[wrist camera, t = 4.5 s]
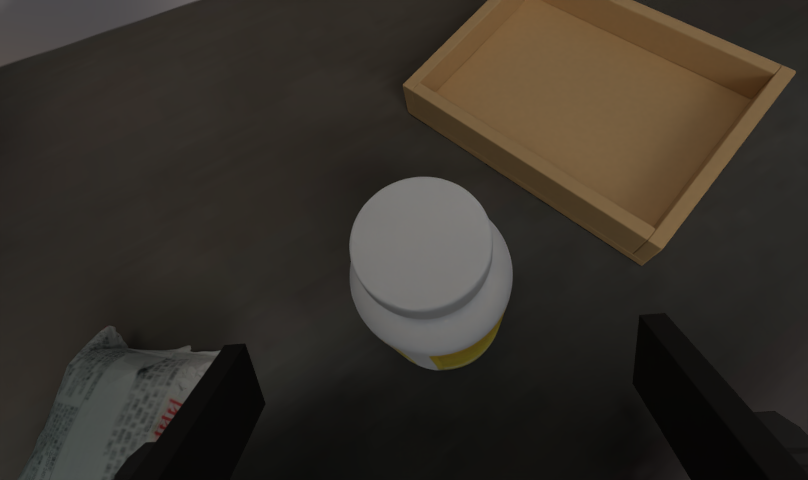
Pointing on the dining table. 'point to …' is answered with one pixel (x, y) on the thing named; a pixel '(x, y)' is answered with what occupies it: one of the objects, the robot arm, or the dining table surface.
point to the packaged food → (112, 407)
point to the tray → (597, 109)
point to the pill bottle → (429, 272)
